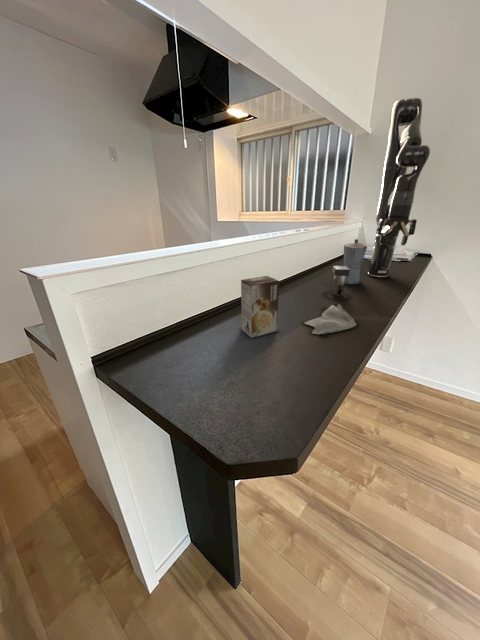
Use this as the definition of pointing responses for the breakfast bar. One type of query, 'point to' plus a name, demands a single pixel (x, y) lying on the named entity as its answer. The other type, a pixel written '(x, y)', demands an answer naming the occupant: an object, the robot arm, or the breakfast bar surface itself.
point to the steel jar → (339, 280)
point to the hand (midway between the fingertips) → (392, 244)
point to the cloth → (332, 321)
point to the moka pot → (354, 260)
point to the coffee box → (259, 305)
